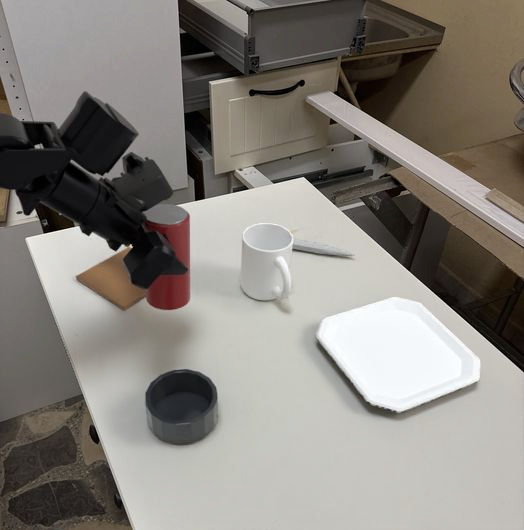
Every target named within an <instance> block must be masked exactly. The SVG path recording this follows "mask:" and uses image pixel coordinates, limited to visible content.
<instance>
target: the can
mask: <svg viewBox="0 0 524 530" xmlns="http://www.w3.org/2000/svg"><path fill="white" fill-rule="evenodd" d="M142 213H144V214H145V215H146V217H147V219H146V220H145V221H144V222H143V226H144V227H145V229H146V231H147V232H151V231H157V232H159V233H160V234H162V235H163V234H164V233H165V235H166V236H167V238H168V240H169V241H170V243H171V245H172V247H173V249H174V251H175V252H176V253H175V256H176V257H177V258H178V259H179V260H180V261H181V262H182V263H183V264H184V265H185V266H186V267H187V268H188V271H187V272H186V273H185V274H184V275H159V276H158V278H157V279H156V280H155V281H154V282H153V283H152V284H151V286H150V287H149V288H148V289H146V297H145V299H146V303H148V304H149V306H151V307H153V308H154V309H157V310H160V311H161V310H162V311H175V310H179V309H182V308H184V307H185V306H187V305H188V304H189V302H190V301H191V215H190V213H189V212H188V211H187V210H186V209H185V208H183V207H182V206H179V205H176V204H170V203H158V204H157V205H155V206H154V207H152V208H150V209H149V210H147V211H142Z"/></svg>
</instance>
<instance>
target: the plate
mask: <svg viewBox="0 0 524 530" xmlns="http://www.w3.org/2000/svg"><path fill="white" fill-rule="evenodd" d="M315 337H316V340H317V341H318V343H319V344H320V345H321V346H322V348H323V350H325V351H326V353H327V354H328V356H330V358H331V359H332V360H333V362H334V363H335V364H336V365H337V367H338V368H339V369H340V370H341V372H342V373H343V374H344V375H345V376H346V378H347V380H348V381H349V382H350V383H351V384H352V385H353V387H354V388H355V389H356V391H357V392H358V393H359V394H360V395H361V397H362V398H363V399H364V401H365V402H366V403H367V404H368V405H370V406H373V407H376V408H380V409H384V410H387V411H390V412H393V413H397V414H401V413H405V412H408V411H410V410H412V409H415V408H417V407H419V406H422V405H424V404H427V403H429V402H432V401H434V400H436V399H440V398H442V397H444V396H447V395H449V394H452V393H454V392H457V391H460V390H462V389H464V388H467V387H469V386H471V385H474V384H476V383H478V382H479V381H480V379H481V363H482V362H481V360H480V358H479V357H478V356H477V355H476V354H475V353H474V352H473V351H472V350H471V349H470V348H469V347H468V346H466V345H465V343H464V342H462V341H461V340H460V339H459V338H458V337H457V336H456V335H455V334H454V333H453V332H452V331H451V330H450V329H449V328H448V327H446V325H444V323H443V322H441V321H440V320H439V319H438V318H437V317H436V316H435V315H434V314H433V313H432V312H431V311H430V310H428V308H427V307H426V306H424V304H423V303H420V302H419V301H417V300H416V301H415V300H412V299H407V298H404V297H399V296H392V297H389V298H385V299H382V300H378V301H375V302H373V303H369V304H365V305H363V306H359V307H356V308H353V309H349V310H346V311H343V312H339V313H336V314H333V315H329V316H326V317H324V318H322V319H321V321H320V324H319V326H318V329H317V331H316V334H315Z"/></svg>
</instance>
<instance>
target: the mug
mask: <svg viewBox="0 0 524 530" xmlns="http://www.w3.org/2000/svg"><path fill="white" fill-rule="evenodd" d="M293 239H294V235H293V233H292V232H291V231H290V230H289V229H288V228H286V227H284V226H282V225H280V224H277V223H271V222H260V223H254V224H251V225H249V226H248V227H246V228H245V229H244V230H243V232H242V234H241V255H240V256H241V257H240V259H241V260H240V287H241V289H242V291H243V292H244V293H245V295H246V296H248V297H250V298H251V299H254V300H258V301H273V300H276V299H280V300H285V299H287V298H288V297H289V296H290V294H291V291H292V282H293V281H292V274H291V263H292V255H293V249H292V247H293Z"/></svg>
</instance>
